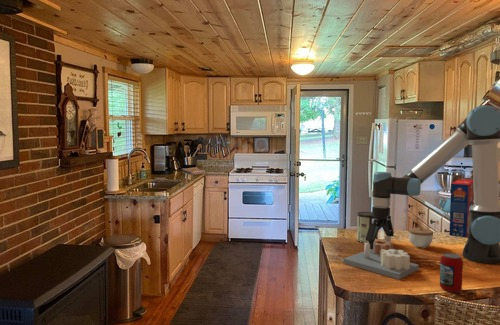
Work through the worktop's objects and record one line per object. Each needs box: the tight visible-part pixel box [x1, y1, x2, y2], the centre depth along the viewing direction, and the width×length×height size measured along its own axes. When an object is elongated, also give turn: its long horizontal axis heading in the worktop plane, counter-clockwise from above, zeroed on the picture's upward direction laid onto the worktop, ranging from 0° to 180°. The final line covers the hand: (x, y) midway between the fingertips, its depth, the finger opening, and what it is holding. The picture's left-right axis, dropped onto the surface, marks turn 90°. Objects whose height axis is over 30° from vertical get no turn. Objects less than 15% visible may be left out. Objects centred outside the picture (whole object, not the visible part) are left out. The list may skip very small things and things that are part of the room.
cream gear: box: [380, 249, 411, 270], centre depth 148 cm, size 10×10×5 cm
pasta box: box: [448, 178, 474, 239], centre depth 210 cm, size 28×8×28 cm, turn 144°
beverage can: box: [439, 252, 464, 293], centre depth 130 cm, size 7×7×12 cm
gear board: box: [343, 243, 420, 280], centre depth 153 cm, size 24×16×8 cm, turn 42°
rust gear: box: [367, 238, 395, 255], centre depth 170 cm, size 10×10×5 cm
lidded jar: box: [408, 226, 434, 249], centre depth 181 cm, size 11×11×9 cm
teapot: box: [438, 197, 451, 214], centre depth 267 cm, size 15×15×11 cm
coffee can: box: [356, 211, 379, 244], centre depth 190 cm, size 10×10×14 cm
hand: (379, 253), depth 170 cm, fingers open, 13 cm apart
